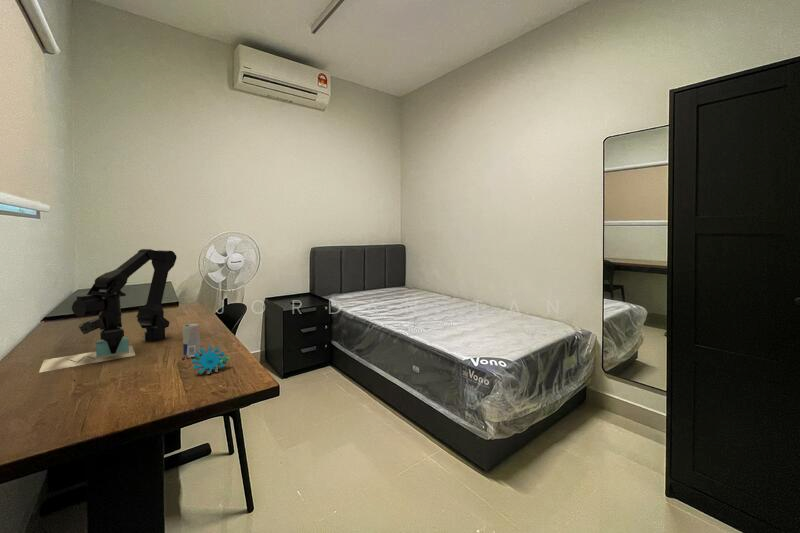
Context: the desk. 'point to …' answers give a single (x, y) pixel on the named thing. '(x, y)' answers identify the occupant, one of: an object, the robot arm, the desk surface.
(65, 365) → the board
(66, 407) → the desk surface
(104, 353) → the sanding block
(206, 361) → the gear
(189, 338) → the energy drink
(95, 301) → the robot arm
